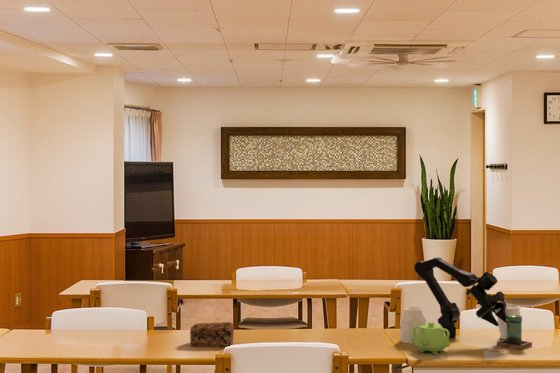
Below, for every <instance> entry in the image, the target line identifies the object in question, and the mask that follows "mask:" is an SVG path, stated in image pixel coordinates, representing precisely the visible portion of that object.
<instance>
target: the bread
mask: <svg viewBox="0 0 560 373" xmlns="http://www.w3.org/2000/svg"><path fill="white" fill-rule="evenodd" d="M234 330H235V328H234V323H232V322H228V321H226V322H225V321H221V322H216V321H215V322H214V321H213V322H203V323H202V322H201V323H195V324H193V325H192V326H191V327H190V333H189V336H190V347H199V348H200V347H204V348H205V347H207V348H209V347H212V348H213V347H220V348H223V347H225V348H226V347H229V346H228V345H231V346H233V344H234V333H235V331H234Z"/></svg>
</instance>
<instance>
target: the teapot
mask: <svg viewBox="0 0 560 373" xmlns="http://www.w3.org/2000/svg"><path fill="white" fill-rule="evenodd" d="M416 328H419V330H418V332H417V335H416V332H415V329H416ZM444 331H446V332H447V337H446V334H445V332H444ZM413 334H414V338H412V342H414V343H413V344H414V345H415V347H416V349H418V352H419V353H425V352H426V351H430V352H431V353H432V355H439V353H438V352H440V353H441V352H442V351H443V352H444V350H445V349H446V347H447V348H449V347H450V346H451V342H450V341H449V339H450V338H449V336H450V333H449V331H448V330H447V329H443V327H442V326H440V324H435V322H433V321H429V322H427V324H426V325H422V326H415V327H414V328H413ZM414 339H415V341H414Z"/></svg>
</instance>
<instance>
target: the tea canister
mask: <svg viewBox="0 0 560 373" xmlns="http://www.w3.org/2000/svg"><path fill="white" fill-rule="evenodd" d="M506 321H507V332H506V339H505V340H506V343H507V344H513V345H521V341H522V328H523V327H522V325H523V324H522V322H523V316H521V315H520V316H518V315H507V316H506Z"/></svg>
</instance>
